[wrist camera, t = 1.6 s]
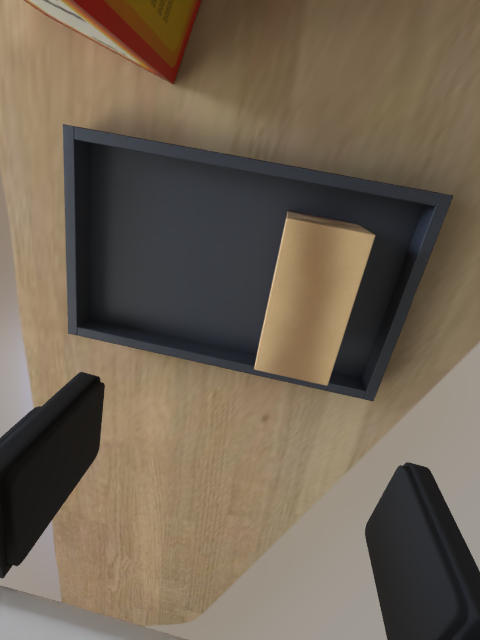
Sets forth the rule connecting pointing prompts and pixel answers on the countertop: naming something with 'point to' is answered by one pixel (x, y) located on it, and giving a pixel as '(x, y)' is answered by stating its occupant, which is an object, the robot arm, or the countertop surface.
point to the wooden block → (312, 296)
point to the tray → (226, 251)
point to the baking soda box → (131, 28)
